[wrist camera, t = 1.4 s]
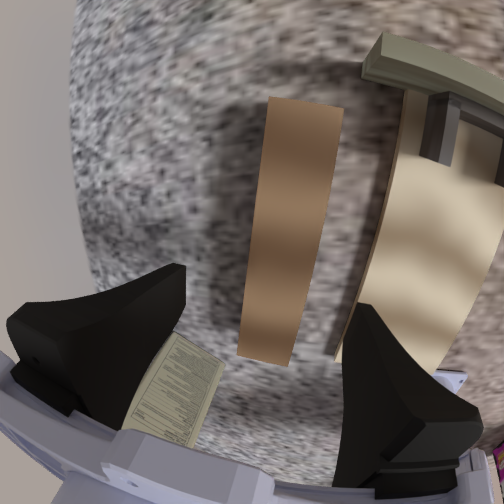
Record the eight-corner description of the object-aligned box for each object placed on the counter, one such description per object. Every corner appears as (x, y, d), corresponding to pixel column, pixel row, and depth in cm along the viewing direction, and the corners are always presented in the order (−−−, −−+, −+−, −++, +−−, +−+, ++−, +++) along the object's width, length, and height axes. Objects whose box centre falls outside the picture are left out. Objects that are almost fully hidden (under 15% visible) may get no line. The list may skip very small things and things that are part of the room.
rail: (293, 334, 25) (287, 366, 22) (248, 324, 26) (236, 355, 22) (339, 112, 17) (344, 108, 14) (279, 102, 18) (269, 96, 14)
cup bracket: (453, 369, 23) (470, 424, 17) (301, 347, 25) (291, 410, 19) (543, 138, 13) (599, 152, 7) (362, 62, 15) (382, 31, 9)
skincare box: (159, 351, 30) (100, 438, 19) (174, 328, 28) (108, 425, 17) (210, 384, 30) (166, 477, 19) (229, 365, 28) (185, 470, 17)
